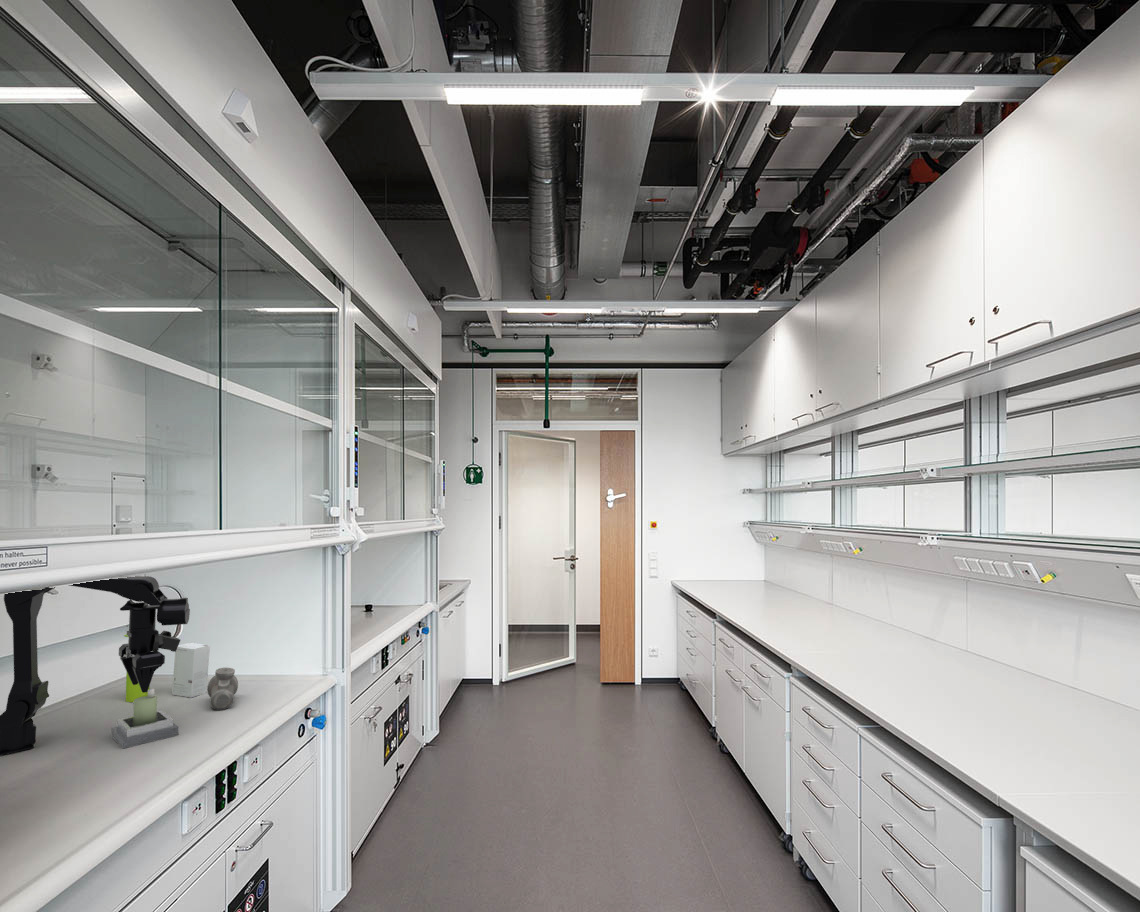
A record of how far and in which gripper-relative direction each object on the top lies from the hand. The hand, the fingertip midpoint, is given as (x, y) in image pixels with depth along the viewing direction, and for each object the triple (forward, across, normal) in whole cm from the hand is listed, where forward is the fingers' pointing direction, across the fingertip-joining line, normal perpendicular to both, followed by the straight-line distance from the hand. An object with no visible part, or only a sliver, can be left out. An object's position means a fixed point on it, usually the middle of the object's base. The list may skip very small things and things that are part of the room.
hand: (139, 688), depth 168 cm
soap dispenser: (+12, +34, -7) cm, 36 cm away
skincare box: (+12, +28, -20) cm, 36 cm away
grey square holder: (+12, -2, -1) cm, 12 cm away
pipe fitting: (+12, +10, -23) cm, 28 cm away
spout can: (+10, -2, -1) cm, 10 cm away
